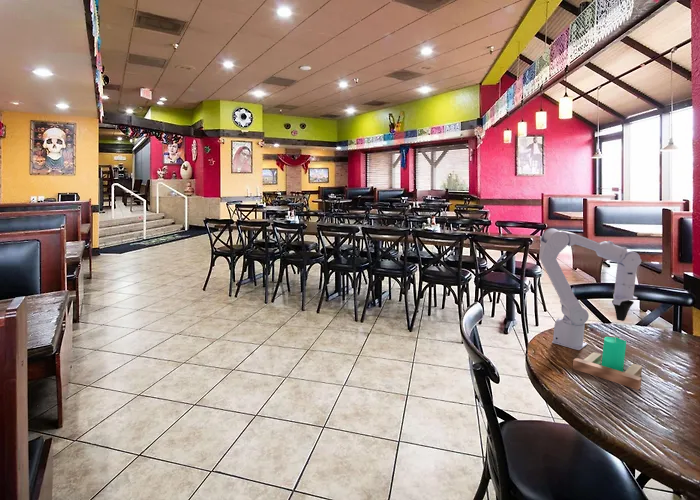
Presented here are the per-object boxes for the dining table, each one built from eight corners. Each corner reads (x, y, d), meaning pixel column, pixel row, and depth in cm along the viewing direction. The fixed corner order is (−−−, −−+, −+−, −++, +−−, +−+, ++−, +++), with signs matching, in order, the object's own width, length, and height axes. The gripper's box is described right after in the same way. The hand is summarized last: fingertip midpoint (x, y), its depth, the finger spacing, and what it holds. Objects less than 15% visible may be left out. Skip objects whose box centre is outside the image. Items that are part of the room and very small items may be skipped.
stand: (572, 368, 132) (573, 359, 131) (586, 358, 139) (586, 350, 139) (638, 389, 119) (639, 380, 118) (649, 377, 126) (650, 368, 125)
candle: (626, 376, 127) (630, 339, 125) (604, 374, 128) (608, 338, 126) (618, 367, 132) (622, 332, 130) (598, 365, 134) (601, 331, 132)
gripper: (631, 289, 136) (627, 327, 139) (644, 282, 146) (639, 318, 148) (608, 285, 142) (604, 322, 144) (621, 278, 151) (617, 313, 153)
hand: (620, 320), depth 146 cm, fingers closed
